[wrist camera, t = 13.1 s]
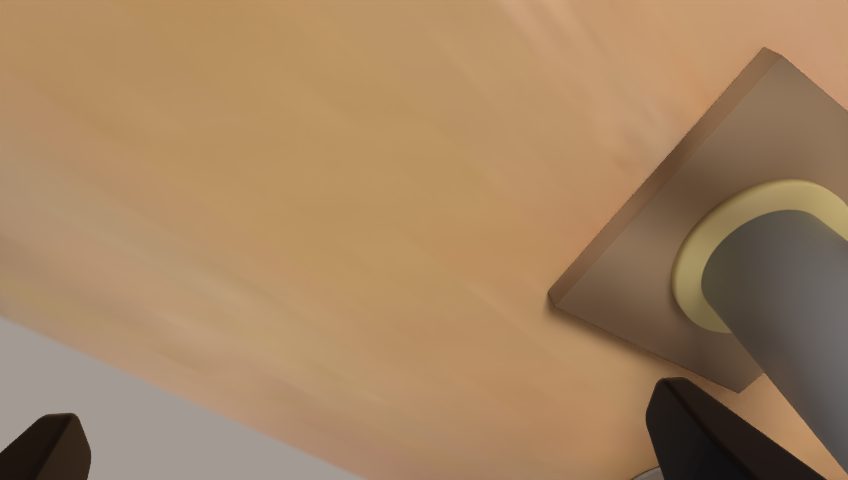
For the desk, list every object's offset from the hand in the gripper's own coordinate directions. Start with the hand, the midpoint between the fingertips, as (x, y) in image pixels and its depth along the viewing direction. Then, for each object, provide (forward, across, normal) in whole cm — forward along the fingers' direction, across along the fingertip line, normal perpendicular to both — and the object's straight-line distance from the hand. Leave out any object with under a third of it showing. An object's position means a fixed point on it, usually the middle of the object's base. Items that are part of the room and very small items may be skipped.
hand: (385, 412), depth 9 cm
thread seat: (+13, -16, +6) cm, 22 cm away
